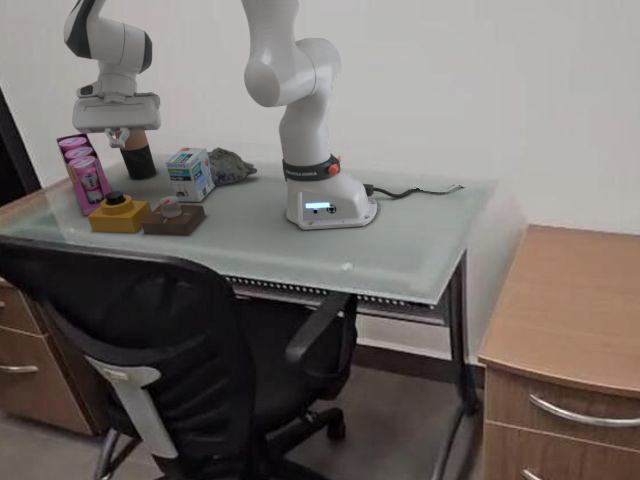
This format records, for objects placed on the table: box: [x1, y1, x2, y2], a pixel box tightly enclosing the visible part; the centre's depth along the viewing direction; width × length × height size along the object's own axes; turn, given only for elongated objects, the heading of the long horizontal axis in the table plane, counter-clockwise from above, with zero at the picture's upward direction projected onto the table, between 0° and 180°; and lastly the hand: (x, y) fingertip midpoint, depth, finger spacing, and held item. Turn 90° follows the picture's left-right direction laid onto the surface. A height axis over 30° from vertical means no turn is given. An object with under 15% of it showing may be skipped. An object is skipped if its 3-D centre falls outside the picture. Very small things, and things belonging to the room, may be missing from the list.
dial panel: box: [141, 204, 206, 236], centre depth 147 cm, size 11×10×3 cm
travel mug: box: [114, 130, 157, 181], centre depth 168 cm, size 8×8×20 cm
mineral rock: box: [207, 146, 258, 186], centre depth 165 cm, size 13×11×10 cm
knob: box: [158, 195, 182, 218], centre depth 145 cm, size 4×4×4 cm
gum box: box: [56, 133, 112, 216], centre depth 158 cm, size 24×8×14 cm, turn 31°
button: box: [105, 190, 125, 205], centre depth 146 cm, size 4×4×2 cm
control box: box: [86, 194, 153, 234], centre depth 148 cm, size 11×9×6 cm
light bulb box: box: [165, 146, 216, 203], centre depth 159 cm, size 11×7×11 cm, turn 173°
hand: (117, 147), depth 149 cm, fingers closed
